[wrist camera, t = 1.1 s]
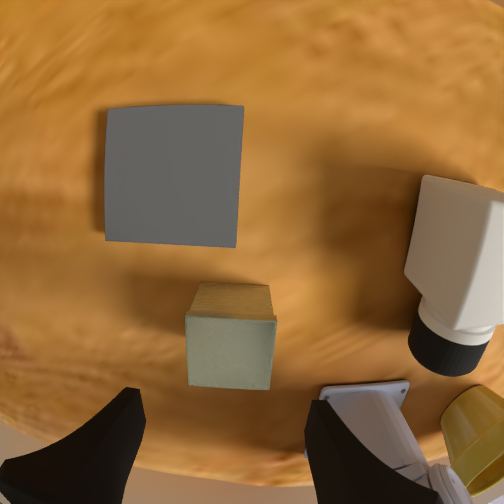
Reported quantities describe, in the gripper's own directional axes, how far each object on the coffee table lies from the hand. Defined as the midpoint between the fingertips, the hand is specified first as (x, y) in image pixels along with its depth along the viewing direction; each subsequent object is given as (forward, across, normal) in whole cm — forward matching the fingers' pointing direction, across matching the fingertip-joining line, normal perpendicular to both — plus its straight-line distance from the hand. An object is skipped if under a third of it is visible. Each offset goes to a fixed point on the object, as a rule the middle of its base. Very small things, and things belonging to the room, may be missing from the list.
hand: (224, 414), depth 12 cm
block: (+10, +4, -9) cm, 14 cm away
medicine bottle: (+5, -15, -10) cm, 19 cm away
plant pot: (+10, -25, +12) cm, 29 cm away
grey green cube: (+10, 0, 0) cm, 10 cm away
